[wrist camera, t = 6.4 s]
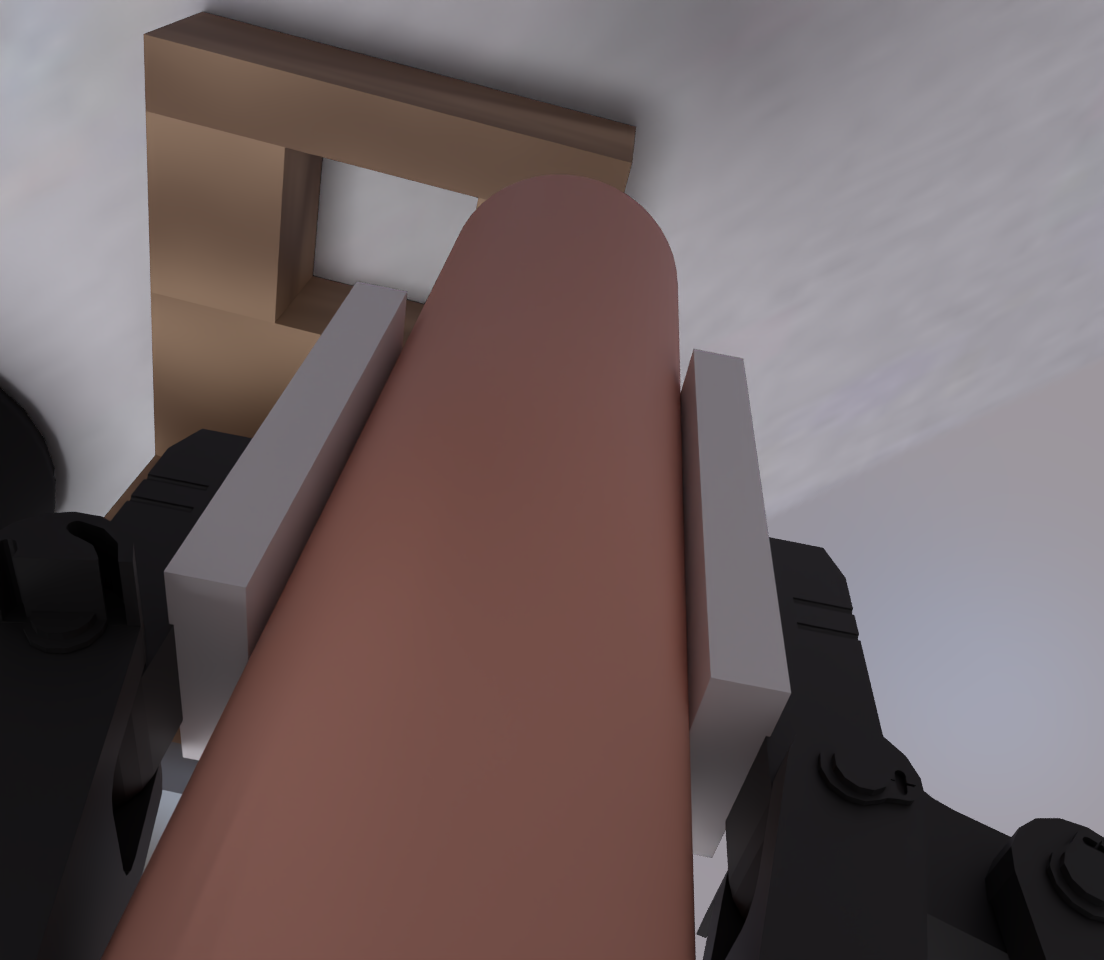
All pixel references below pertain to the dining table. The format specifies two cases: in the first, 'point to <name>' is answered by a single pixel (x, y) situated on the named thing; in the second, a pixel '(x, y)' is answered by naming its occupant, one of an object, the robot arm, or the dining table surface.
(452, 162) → the station
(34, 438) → the coffee jar
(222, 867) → the peg
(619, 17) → the dining table surface
